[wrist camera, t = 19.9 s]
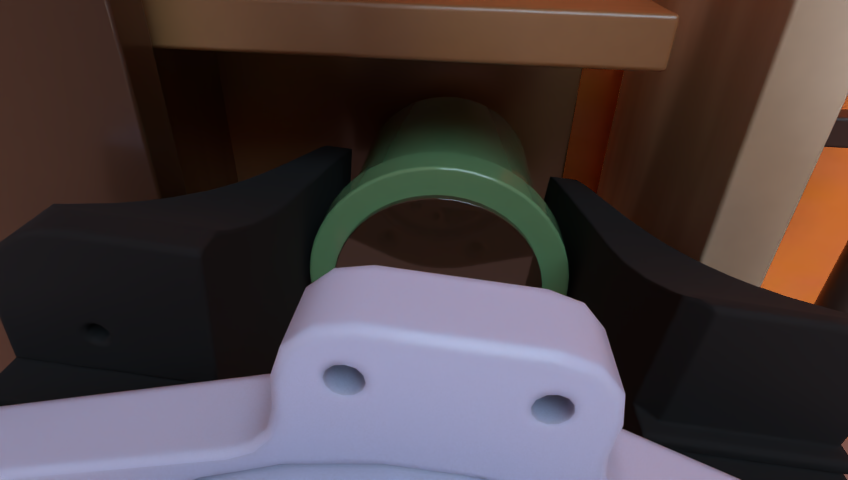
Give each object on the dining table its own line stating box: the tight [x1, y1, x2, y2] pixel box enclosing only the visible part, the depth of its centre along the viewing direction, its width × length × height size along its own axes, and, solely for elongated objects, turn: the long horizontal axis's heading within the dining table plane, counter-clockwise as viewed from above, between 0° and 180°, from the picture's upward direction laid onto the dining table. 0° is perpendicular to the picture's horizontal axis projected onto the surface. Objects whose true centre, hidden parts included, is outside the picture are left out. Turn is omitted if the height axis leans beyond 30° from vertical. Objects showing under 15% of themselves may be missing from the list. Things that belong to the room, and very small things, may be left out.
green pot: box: [310, 97, 569, 296], centre depth 12 cm, size 5×5×5 cm
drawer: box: [141, 0, 848, 314], centre depth 13 cm, size 17×11×7 cm, turn 88°
